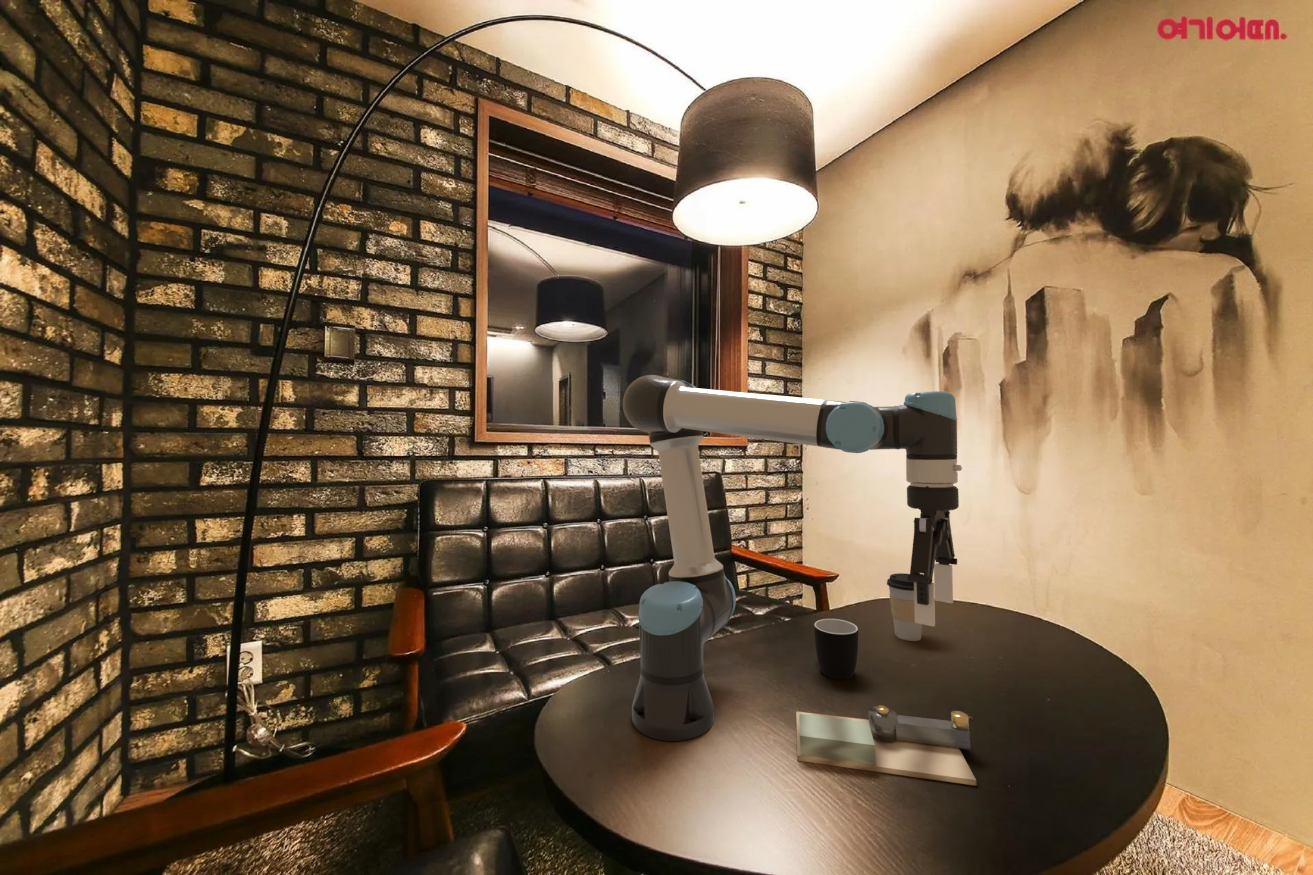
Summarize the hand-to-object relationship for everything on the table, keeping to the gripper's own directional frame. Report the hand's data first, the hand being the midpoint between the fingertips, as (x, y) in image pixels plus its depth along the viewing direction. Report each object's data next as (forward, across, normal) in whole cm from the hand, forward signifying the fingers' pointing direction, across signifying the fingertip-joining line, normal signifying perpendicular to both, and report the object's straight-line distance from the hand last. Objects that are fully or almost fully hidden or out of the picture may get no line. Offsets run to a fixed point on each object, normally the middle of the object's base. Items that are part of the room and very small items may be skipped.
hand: (934, 612), depth 82 cm
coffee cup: (+22, +44, +16) cm, 51 cm away
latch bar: (+20, -3, +2) cm, 21 cm away
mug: (+22, +14, +23) cm, 35 cm away
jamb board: (+22, -8, +8) cm, 24 cm away
